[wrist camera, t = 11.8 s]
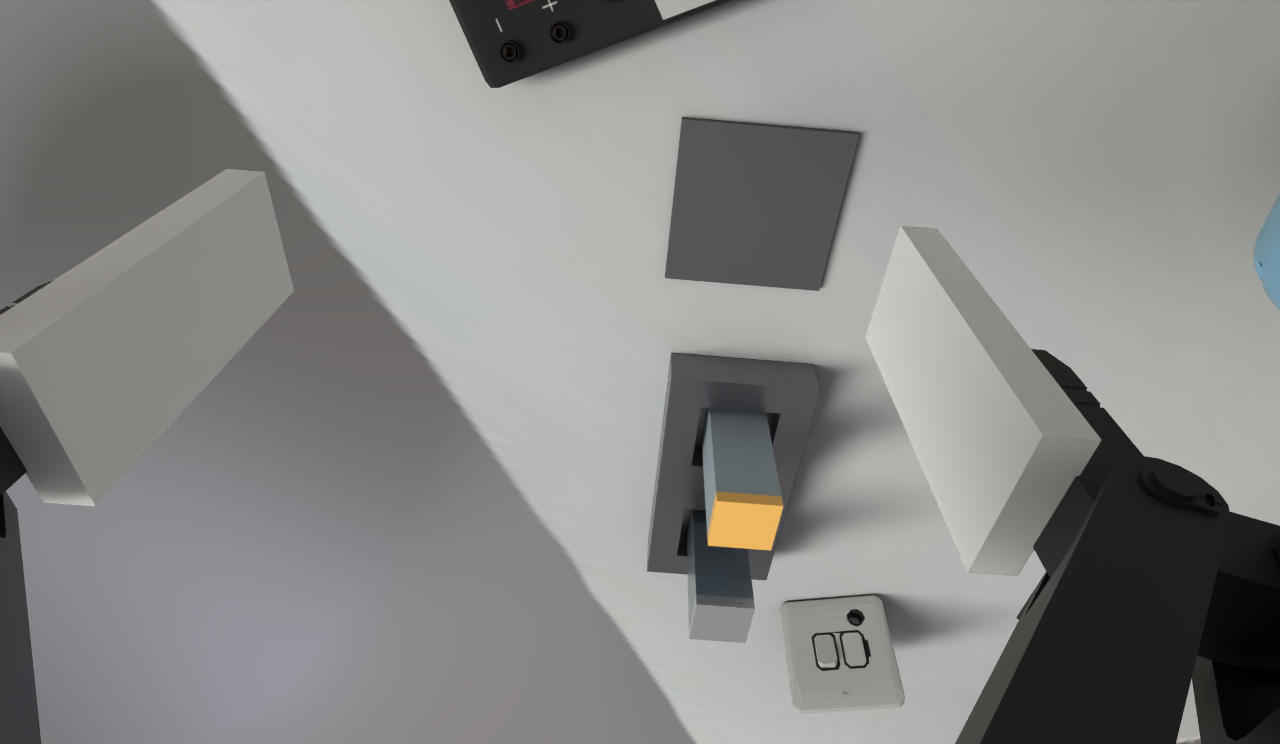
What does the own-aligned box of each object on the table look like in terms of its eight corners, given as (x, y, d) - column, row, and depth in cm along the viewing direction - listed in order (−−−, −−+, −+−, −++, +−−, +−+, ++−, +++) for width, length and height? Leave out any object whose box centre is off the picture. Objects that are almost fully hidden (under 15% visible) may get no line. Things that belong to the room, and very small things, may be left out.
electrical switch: (880, 591, 63) (909, 694, 56) (878, 620, 66) (904, 721, 59) (777, 599, 64) (791, 701, 57) (779, 627, 67) (793, 727, 60)
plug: (764, 402, 49) (783, 506, 41) (754, 444, 51) (771, 550, 43) (708, 398, 49) (716, 501, 41) (701, 440, 51) (707, 545, 43)
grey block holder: (812, 364, 48) (845, 473, 39) (762, 551, 60) (778, 669, 51) (671, 352, 48) (671, 460, 39) (648, 543, 60) (644, 659, 51)
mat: (857, 132, 39) (859, 134, 39) (817, 287, 45) (819, 290, 44) (682, 117, 39) (682, 119, 38) (665, 275, 45) (665, 278, 44)
